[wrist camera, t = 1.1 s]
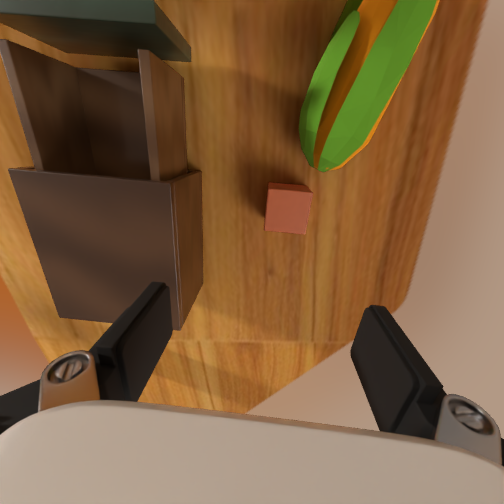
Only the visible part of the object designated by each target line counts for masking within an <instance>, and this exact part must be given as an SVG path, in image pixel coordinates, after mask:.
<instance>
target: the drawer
mask: <svg viewBox="0 0 504 504" xmlns="http://www.w3.org/2000/svg"><path fill="white" fill-rule="evenodd" d="M0 23H2V24H4V25H7V26H9V27H11V28H13V29H15V30H18V31H20V32H22V33H24V34H26V35H29V36H31V37H33V38H35V39H37V40H39V41H42V42H44V43H46V44H48V45H50V46H53V47H55V48H57V49H59V50H61V51H63V52H66V53H74V54H87V55H101V56H114V57H127V58H139V66H140V72H128V71H115V70H101V69H88V68H75V67H73V66H71V65H68V64H66V63H63V62H61V61H58V60H56V59H53V58H51V57H48V56H46V55H44V54H41V53H39V52H36V51H34V50H31V49H29V48H26V47H24V46H21V45H19V44H16V43H14V42H11V41H9V40H6V39H0V53H1V56H2V60H3V63H4V66H5V70H6V73H7V76H8V80H9V83H10V86H11V90H12V93H13V96H14V100H15V103H16V106H17V110H18V113H19V116H20V120H21V123H22V126H23V130H24V133H25V136H26V140H27V143H28V146H29V150H30V153H31V156H32V160H33V163H34V166H35V170H46V171H57V172H68V173H79V174H90V175H101V176H112V177H123V178H134V179H146V180H157V181H167V180H170V179H173V178H176V177H179V176H182V175H185V174H187V148H186V122H185V96H184V78H183V77H182V76H181V75H180V74H178V73H177V72H176V71H175V70H173V69H172V68H171V67H170V66H168V65H167V64H166V63H165V62H163V61H162V60H167V61H181V62H191V47H190V45H189V44H188V43H187V41H186V40H185V39H184V38H183V36H182V35H181V34H180V33H179V31H178V30H177V29H176V28H175V26H174V25H173V24H172V23H171V21H170V20H169V19H168V18H167V16H166V15H165V14H164V12H163V11H162V10H161V9H160V7H159V6H158V5H157V4H156V2H155V1H154V0H0Z"/></svg>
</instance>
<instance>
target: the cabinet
mask: <svg viewBox="0 0 504 504" xmlns="http://www.w3.org/2000/svg"><path fill="white" fill-rule="evenodd" d="M8 171H9V174H10V177H11V180H12V183H13V185H14V188H15V191H16V194H17V197H18V200H19V203H20V206H21V208H22V211H23V214H24V217H25V220H26V223H27V226H28V229H29V231H30V234H31V237H32V240H33V243H34V246H35V249H36V252H37V254H38V257H39V260H40V263H41V266H42V269H43V272H44V275H45V278H46V280H47V283H48V286H49V289H50V292H51V295H52V298H53V301H54V303H55V306H56V309H57V312H58V315H59V317H60V318H69V319H78V320H87V321H97V322H106V323H114V322H115V321H116V320H117V318H118V317H119V316H120V315H121V314H122V313H123V312H124V311H125V310H126V309H127V308H128V307H130V306H131V305H132V304H133V302H134V301H135V300H136V299H137V298H138V297H139V296H140V295H141V293H142V292H143V291H144V290H145V289H146V288H147V287H148V285H149V284H150V283H151V282H152V281H155V282H164V283H166V286H169V288H170V301H171V314H172V327H173V330H179V331H180V330H181V328H182V326H183V324H184V322H185V320H186V318H187V316H188V314H189V312H190V310H191V308H192V305H193V303H194V301H195V299H196V297H197V295H198V293H199V291H200V289H201V287H202V285H203V235H202V172H201V171H192V170H187V174H185V175H182V176H179V177H176V178H173V179H170V180H167V181H157V180H146V179H134V178H123V177H112V176H101V175H90V174H79V173H68V172H57V171H46V170H35V166H31V167H20V168H9V169H8Z"/></svg>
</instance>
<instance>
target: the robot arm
mask: <svg viewBox="0 0 504 504" xmlns="http://www.w3.org/2000/svg"><path fill="white" fill-rule="evenodd" d="M172 331H173V327H172V314H171V301H170V288H169V286H166V283H164V282H155V281H152V282H151V283H150V284H149V285H148V287H147V288H146V289H145V290H144V291H143V292H142V293H141V295H140V296H139V297H138V298H137V299H136V300H135V301H134V302H133V304H132V305H131V306H130V307H128V308H127V309H126V310H125V311H124V312H123V313H122V314H121V315H120V316H119V317H118V318H117V320H116V321H115V322H114V323H113V324H112V325H111V326H110V327H109V329H108V330H107V331H106V332H105V333H104V334H103V335H102V336H101V338H100V339H99V340H98V341H97V342H96V343H95V344H94V345H93V347H92V348H91V349H90V350H89V351H84V350H80V351H73V352H69V353H66V354H64V355H62V356H60V357H58V358H57V359H55V360H53V361H52V362H51V363H50V364H49V365H48V366H47V367H46V368H45V369H44V371H43V372H42V376H41V379H40V380H37V381H35V382H32V383H30V384H28V385H25V386H23V387H21V388H19V389H16V390H14V391H11V392H9V393H7V394H4V395H2V396H0V504H504V439H502V438H501V434H500V430H499V427H498V425H497V424H496V423H495V421H494V419H493V418H492V417H491V416H490V415H489V414H488V413H487V412H486V411H485V410H484V409H483V408H481V407H480V406H479V405H477V404H476V403H474V402H473V401H471V400H469V399H467V398H465V397H463V396H459V395H456V394H449V395H447V394H446V393H445V391H444V390H443V389H442V388H443V385H442V384H441V383H440V381H439V380H438V379H437V377H436V376H435V374H434V373H433V372H432V370H431V369H430V367H429V366H428V365H427V363H426V362H425V361H424V359H423V358H422V357H421V355H420V354H419V353H418V351H417V350H416V348H415V347H414V346H413V344H412V343H411V341H410V340H409V339H408V337H407V336H406V335H405V333H404V332H403V331H402V329H401V328H400V326H399V325H398V324H397V323H396V321H395V320H394V318H393V317H392V315H391V314H390V313H389V311H388V310H387V309H386V307H384V306H376V305H370V306H369V308H366V309H365V311H364V313H363V316H362V319H361V322H360V325H359V328H358V330H357V333H356V336H355V339H354V342H353V345H352V347H351V358H352V361H353V363H354V366H355V369H356V371H357V374H358V376H359V379H360V381H361V384H362V386H363V389H364V391H365V394H366V397H367V399H368V402H369V404H370V407H371V410H372V412H373V414H374V417H375V420H376V422H377V425H378V427H379V430H380V431H374V430H367V429H359V428H351V427H344V426H336V425H328V424H320V423H312V422H305V421H297V420H289V419H281V418H273V417H264V416H256V415H248V414H240V413H232V412H223V411H215V410H206V409H198V408H189V407H181V406H172V405H163V404H153V403H143V402H137V401H138V399H139V397H140V395H141V393H142V391H143V390H144V388H145V386H146V384H147V382H148V380H149V378H150V376H151V374H152V372H153V370H154V368H155V366H156V365H157V363H158V361H159V359H160V357H161V355H162V353H163V351H164V349H165V347H166V345H167V343H168V341H169V340H170V338H171V335H172Z"/></svg>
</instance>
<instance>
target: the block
mask: <svg viewBox="0 0 504 504" xmlns="http://www.w3.org/2000/svg"><path fill="white" fill-rule="evenodd" d="M312 196H313V192H312V191H311V190H310V189H309V188H308V187H307V186H305V185H294V184H283V183H272V182H269V183H268V192H267V201H266V211H265V222H264V230H265V231H275V232H285V233H296V234H306V228H307V223H308V218H309V212H310V207H311V201H312Z"/></svg>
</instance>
